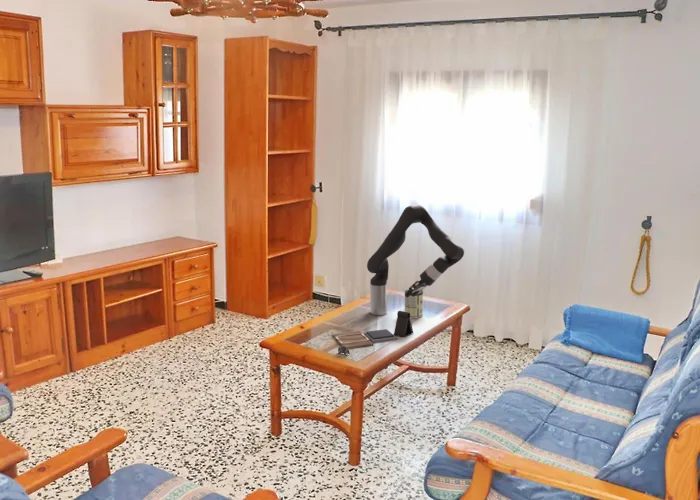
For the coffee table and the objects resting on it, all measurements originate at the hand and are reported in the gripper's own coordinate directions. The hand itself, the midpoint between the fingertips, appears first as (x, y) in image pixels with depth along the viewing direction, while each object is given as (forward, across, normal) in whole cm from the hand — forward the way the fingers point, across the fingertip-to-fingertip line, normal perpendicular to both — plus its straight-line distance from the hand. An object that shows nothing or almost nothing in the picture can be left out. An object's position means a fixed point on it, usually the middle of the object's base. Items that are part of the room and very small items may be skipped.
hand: (408, 295), depth 310 cm
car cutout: (+30, +34, +10) cm, 47 cm away
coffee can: (+17, -34, +2) cm, 38 cm away
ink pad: (+24, +6, +6) cm, 26 cm away
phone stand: (+17, -3, +12) cm, 21 cm away
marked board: (+33, +17, 0) cm, 37 cm away
